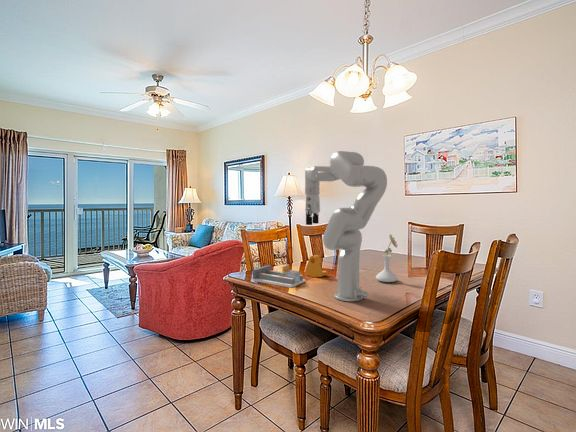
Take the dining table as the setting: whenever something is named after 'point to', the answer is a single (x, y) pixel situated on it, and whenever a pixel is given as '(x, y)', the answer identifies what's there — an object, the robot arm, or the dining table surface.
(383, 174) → the robot arm
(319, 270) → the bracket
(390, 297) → the dining table surface
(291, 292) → the dining table surface
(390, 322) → the dining table surface
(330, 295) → the dining table surface
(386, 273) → the flower in vase
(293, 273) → the gauge carriage
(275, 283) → the scale board
